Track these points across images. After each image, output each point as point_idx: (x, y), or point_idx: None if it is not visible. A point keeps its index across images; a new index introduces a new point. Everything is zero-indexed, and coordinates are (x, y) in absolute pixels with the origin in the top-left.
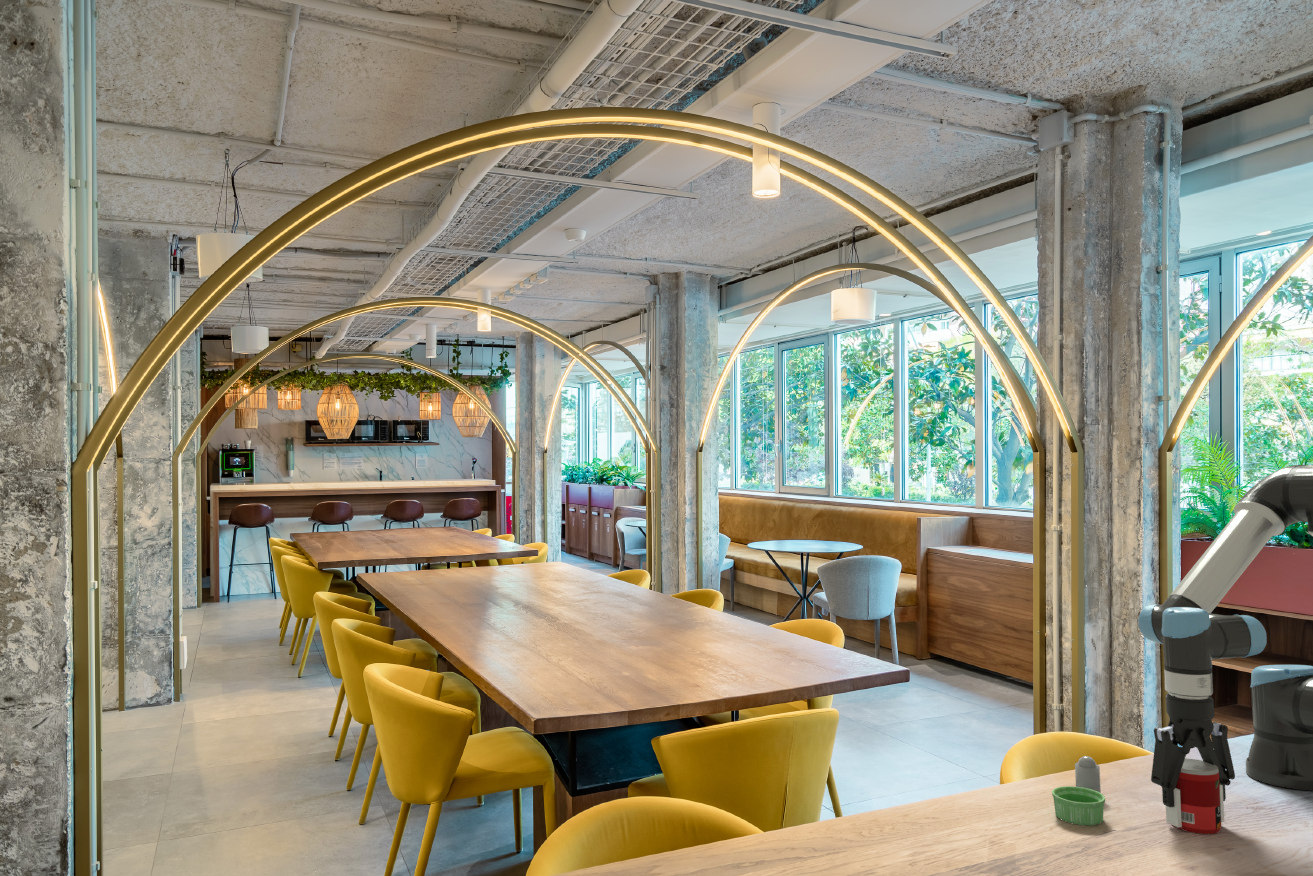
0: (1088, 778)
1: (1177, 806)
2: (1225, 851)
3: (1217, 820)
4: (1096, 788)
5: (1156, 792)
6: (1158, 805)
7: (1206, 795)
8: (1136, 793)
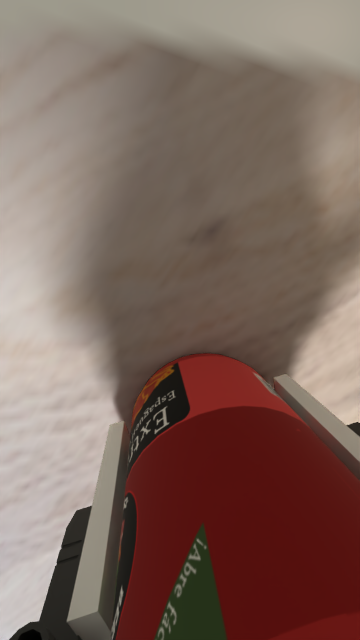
0: None
1: (340, 421)
2: (235, 208)
3: (172, 381)
4: None
5: None
6: None
7: (272, 459)
8: None
